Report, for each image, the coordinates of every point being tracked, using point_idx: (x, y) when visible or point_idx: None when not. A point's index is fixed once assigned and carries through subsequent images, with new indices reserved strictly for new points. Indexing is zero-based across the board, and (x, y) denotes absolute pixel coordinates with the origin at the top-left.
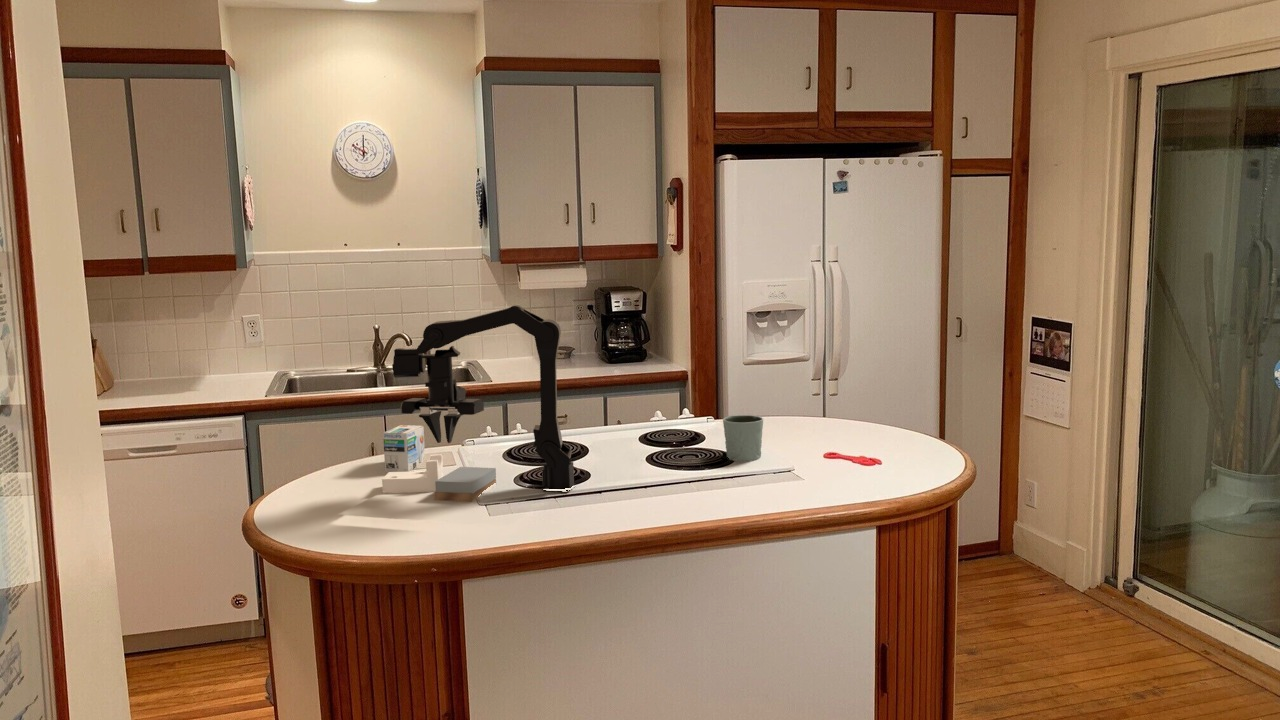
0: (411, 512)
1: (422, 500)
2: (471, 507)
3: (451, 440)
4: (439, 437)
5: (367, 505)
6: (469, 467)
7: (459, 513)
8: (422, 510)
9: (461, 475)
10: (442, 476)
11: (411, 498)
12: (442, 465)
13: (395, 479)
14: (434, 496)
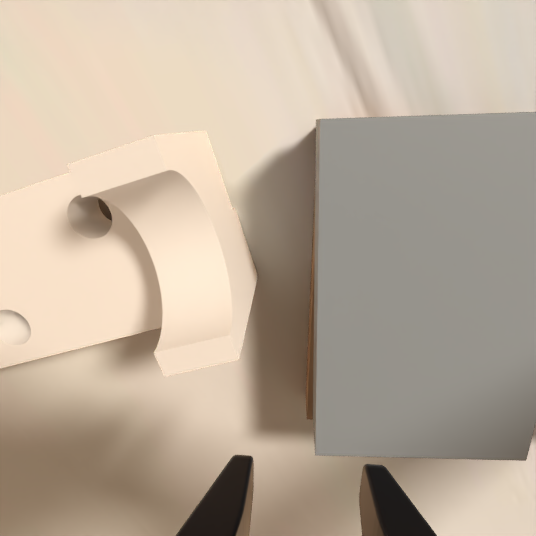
0: (296, 528)
1: (260, 407)
2: (497, 462)
3: (393, 483)
4: (246, 532)
5: (98, 481)
6: (397, 129)
7: (472, 522)
8: (323, 507)
9: (415, 339)
10: (207, 158)
11: (200, 389)
12: (185, 145)
13: (46, 356)
14: (306, 405)
